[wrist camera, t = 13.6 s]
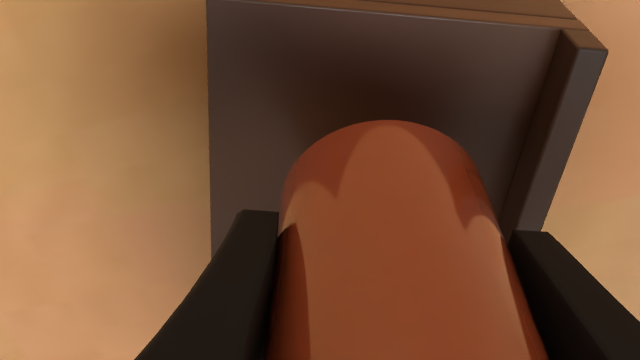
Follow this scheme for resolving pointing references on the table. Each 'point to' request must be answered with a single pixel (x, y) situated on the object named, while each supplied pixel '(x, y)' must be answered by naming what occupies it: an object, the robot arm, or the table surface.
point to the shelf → (396, 90)
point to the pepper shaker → (393, 255)
